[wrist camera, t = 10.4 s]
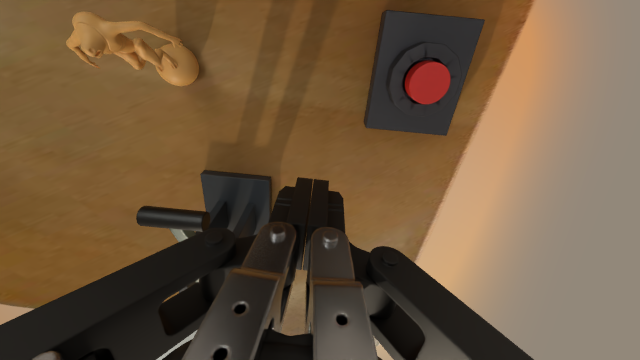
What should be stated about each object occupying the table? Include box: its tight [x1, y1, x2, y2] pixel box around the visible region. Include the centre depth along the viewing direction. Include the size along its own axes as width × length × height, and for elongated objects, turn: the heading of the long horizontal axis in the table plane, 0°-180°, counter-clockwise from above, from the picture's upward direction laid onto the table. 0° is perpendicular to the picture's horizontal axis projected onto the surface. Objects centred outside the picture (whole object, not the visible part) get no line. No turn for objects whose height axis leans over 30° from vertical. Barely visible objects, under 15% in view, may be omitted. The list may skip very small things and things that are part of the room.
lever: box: [136, 206, 210, 283], centre depth 24 cm, size 12×5×2 cm, turn 175°
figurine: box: [66, 12, 199, 86], centre depth 23 cm, size 8×6×12 cm
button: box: [405, 61, 450, 104], centre depth 24 cm, size 4×4×2 cm
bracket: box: [179, 170, 271, 293], centre depth 32 cm, size 12×9×13 cm
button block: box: [364, 10, 485, 136], centre depth 26 cm, size 11×9×4 cm
